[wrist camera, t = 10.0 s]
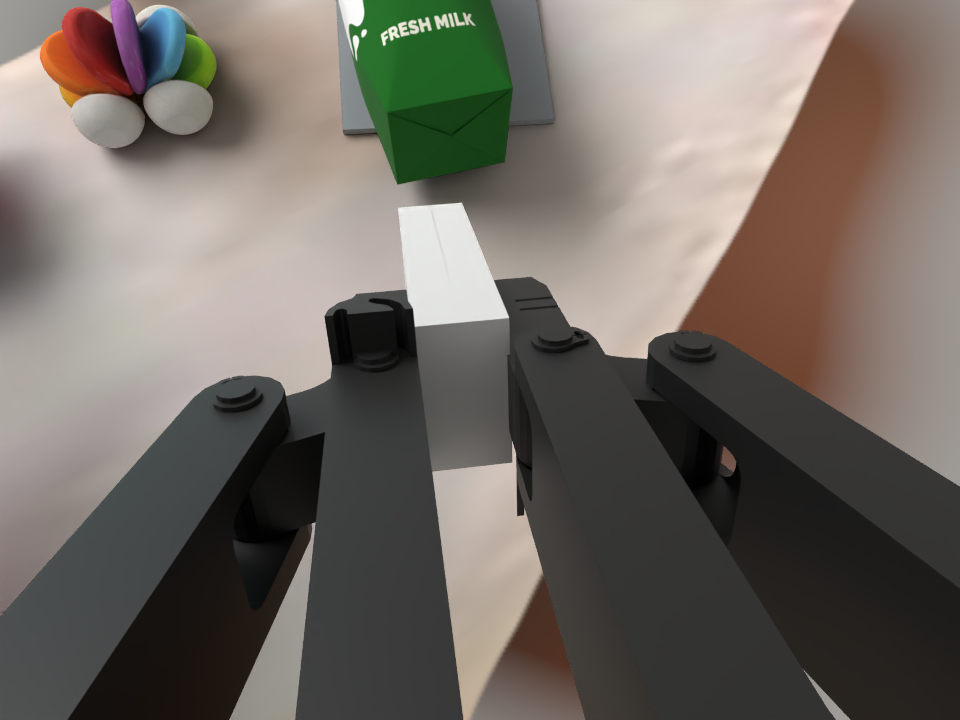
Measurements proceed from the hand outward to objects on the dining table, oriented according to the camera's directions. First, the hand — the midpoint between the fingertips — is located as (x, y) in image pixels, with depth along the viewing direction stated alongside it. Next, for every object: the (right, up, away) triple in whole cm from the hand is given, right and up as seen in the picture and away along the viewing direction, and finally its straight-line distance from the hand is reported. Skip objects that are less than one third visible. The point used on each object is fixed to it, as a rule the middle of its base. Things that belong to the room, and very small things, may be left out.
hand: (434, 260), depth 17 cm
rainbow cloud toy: (-21, +15, +30) cm, 39 cm away
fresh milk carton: (0, +10, +24) cm, 26 cm away
